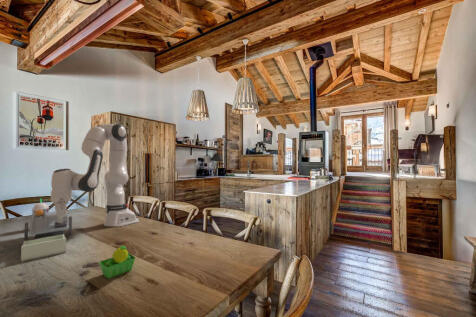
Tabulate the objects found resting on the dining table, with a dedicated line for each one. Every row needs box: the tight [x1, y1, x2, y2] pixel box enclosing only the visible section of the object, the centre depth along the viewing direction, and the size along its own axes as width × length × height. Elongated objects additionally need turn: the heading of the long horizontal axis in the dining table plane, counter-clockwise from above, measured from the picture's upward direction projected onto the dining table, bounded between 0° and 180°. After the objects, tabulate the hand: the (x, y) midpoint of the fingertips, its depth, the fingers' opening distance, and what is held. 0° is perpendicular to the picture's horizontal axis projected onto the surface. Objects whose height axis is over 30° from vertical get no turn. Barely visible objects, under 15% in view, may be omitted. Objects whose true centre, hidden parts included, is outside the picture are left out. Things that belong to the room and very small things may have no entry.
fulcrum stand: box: [23, 215, 73, 242], centre depth 124 cm, size 20×4×11 cm, turn 132°
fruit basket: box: [98, 245, 136, 279], centre depth 87 cm, size 11×9×11 cm
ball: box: [35, 209, 44, 216], centre depth 128 cm, size 4×4×4 cm
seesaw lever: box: [28, 209, 69, 236], centre depth 124 cm, size 16×28×4 cm, turn 42°
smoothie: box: [31, 198, 50, 212], centre depth 142 cm, size 8×8×20 cm
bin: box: [20, 233, 67, 263], centre depth 106 cm, size 16×16×7 cm
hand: (60, 222), depth 119 cm, fingers closed
